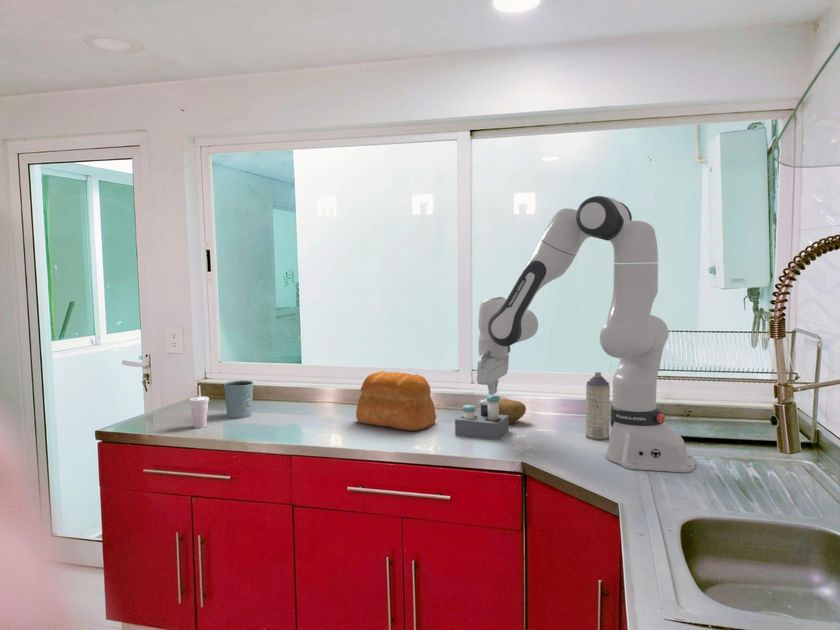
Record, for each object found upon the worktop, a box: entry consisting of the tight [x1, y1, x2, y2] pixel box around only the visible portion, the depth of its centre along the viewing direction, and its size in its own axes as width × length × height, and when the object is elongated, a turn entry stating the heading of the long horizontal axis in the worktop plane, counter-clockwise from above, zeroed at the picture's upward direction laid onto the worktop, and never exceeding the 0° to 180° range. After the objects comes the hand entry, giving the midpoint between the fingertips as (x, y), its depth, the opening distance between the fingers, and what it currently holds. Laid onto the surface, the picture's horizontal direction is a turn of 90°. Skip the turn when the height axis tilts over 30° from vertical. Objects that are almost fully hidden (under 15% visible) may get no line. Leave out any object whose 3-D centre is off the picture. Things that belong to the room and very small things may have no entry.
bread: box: [355, 370, 437, 432], centre depth 201 cm, size 16×26×17 cm, turn 58°
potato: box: [499, 398, 527, 423], centre depth 200 cm, size 10×14×8 cm
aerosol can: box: [585, 371, 611, 441], centre depth 181 cm, size 7×7×20 cm
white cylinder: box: [462, 404, 476, 419], centre depth 188 cm, size 4×4×7 cm
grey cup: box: [223, 380, 254, 420], centre depth 214 cm, size 10×10×12 cm
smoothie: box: [188, 385, 210, 429], centre depth 199 cm, size 6×6×14 cm
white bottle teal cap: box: [486, 394, 501, 421], centre depth 184 cm, size 4×4×7 cm
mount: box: [454, 398, 510, 441], centre depth 187 cm, size 14×11×10 cm
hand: (492, 393), depth 184 cm, fingers closed
